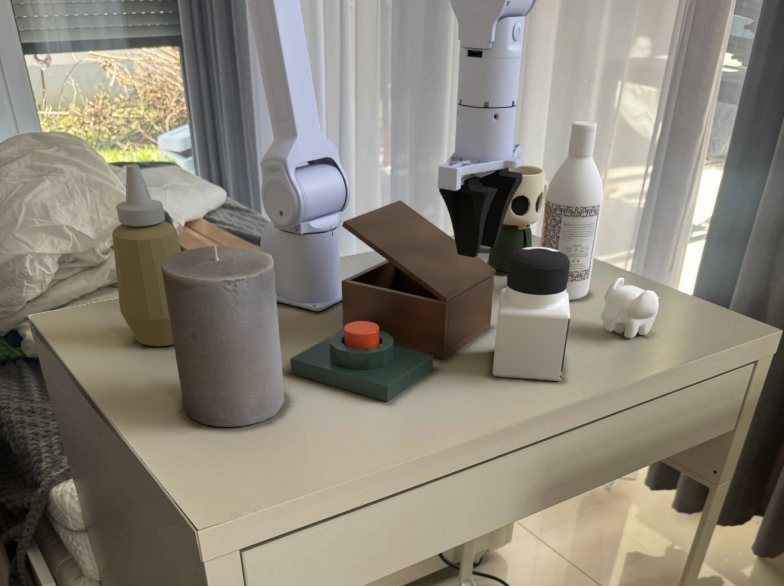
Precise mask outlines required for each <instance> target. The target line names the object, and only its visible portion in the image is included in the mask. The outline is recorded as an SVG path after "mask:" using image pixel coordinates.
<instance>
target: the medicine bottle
mask: <svg viewBox="0 0 784 586" xmlns="http://www.w3.org/2000/svg"><path fill="white" fill-rule="evenodd" d="M569 267H570V260H569V258H568V257H567V256H566V255H565V254H563V253H561V252H560V251H558V250H555V249H551V248H546V247H540V246H532V247H527V248H523V249H520V250H518V251H515V252H514V253H512V255H511V256H510V257H509V264H508V272H507V275H506V287H504V288H501V290H500V294H499V301H498V309H497V319H496V331H495V343H494V353H493V364H492V375H493V376H494V377H498V378H499V377H501V378H512V379H524V380H537V381H552V382H559V381H561V379H562V376H563V369H564V362H565V356H566V348H567V343H568V337H569V328H570V323H571V322H570V321H571V309H570V300H569V297H568V293H567V292H566V288H567V281H568V274H569Z"/></svg>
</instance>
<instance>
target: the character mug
mask: <svg viewBox="0 0 784 586" xmlns="http://www.w3.org/2000/svg"><path fill="white" fill-rule="evenodd" d="M509 171H512V172H519V173H522V174H523V176H522V183H521V184H520V186H519V187H518V189H517V191H516V192H515V194H514V196H513V198H512V200H511V202H510V205H509V207H508V210H507V212H506V215H505V218H504V221H503V225H502V228H501V231H500V235H499V238H498V241H497V244H496V246H495V247H493V248H492V247H489V253H488V258H487V264H488V265H490V266H491V267H492V268H494V269H495V270H498V271H499V272H506V273H508V264H509V257H510V256H511V255H512V253H514V252H515V251H518V250H520V249H523V248H527V247H533V235H532V234H533V232H532V228H531V225H534V224H536V223H537V222H538V221H539V219H540V218H541V215H542V211H543V206H545V201H546V195H547V191H548V188H549V182H548V180H547V179H546V170H545V169H544V168H541V167H538V166H533V165H527V164H523V165H522V166H521V167H518V168H509Z"/></svg>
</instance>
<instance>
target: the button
mask: <svg viewBox="0 0 784 586" xmlns="http://www.w3.org/2000/svg"><path fill="white" fill-rule="evenodd" d="M344 343H345V346H348V347H352V348H361V349H367V348H372V347H376V346H378V345H379V326H378V325H377V324H375V323H372V322H368V321H356V322H351V323H348V324H346V325H345V327H344Z"/></svg>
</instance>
